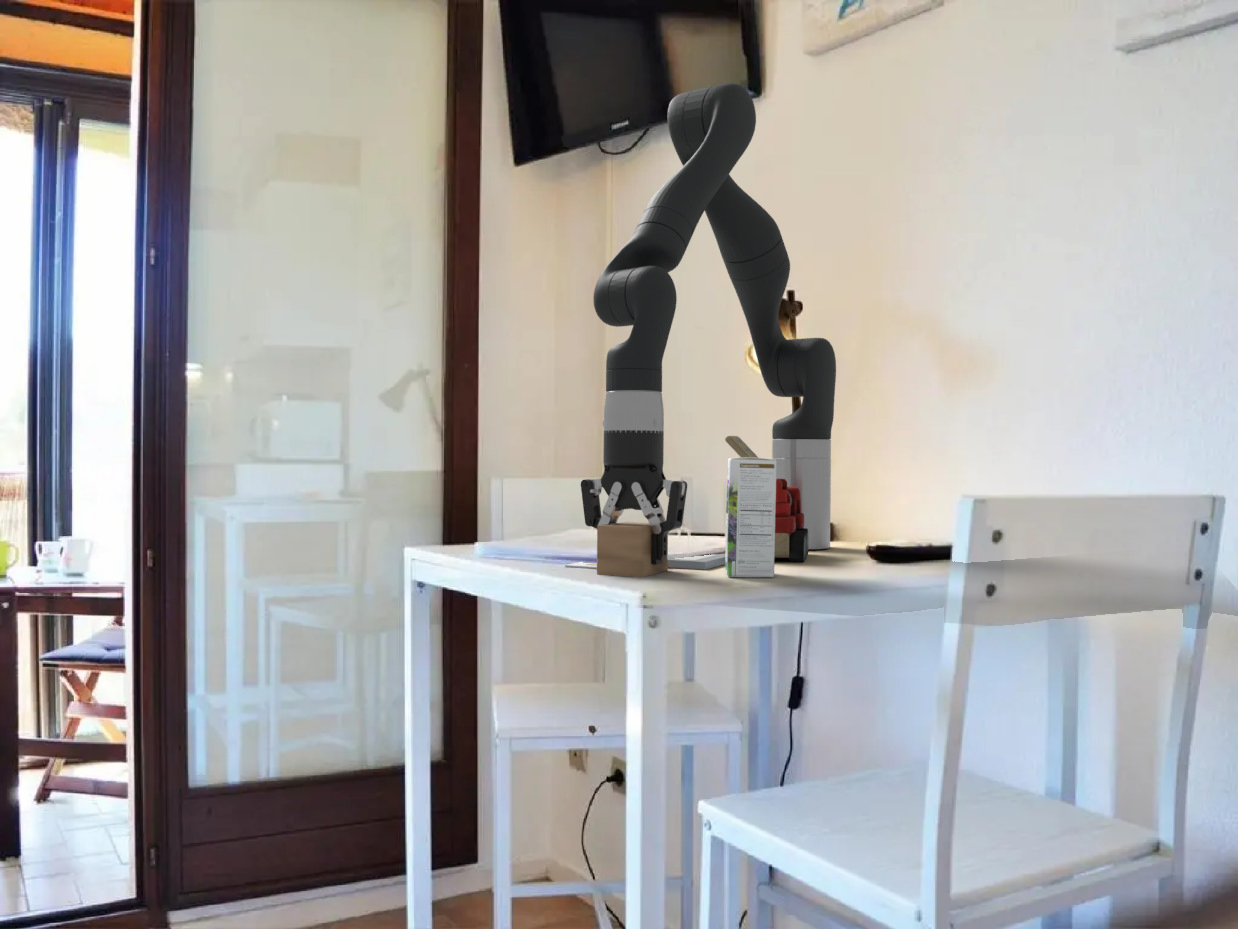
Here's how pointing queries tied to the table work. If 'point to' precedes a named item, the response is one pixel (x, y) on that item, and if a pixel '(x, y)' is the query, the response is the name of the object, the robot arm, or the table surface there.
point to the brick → (626, 550)
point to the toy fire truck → (782, 513)
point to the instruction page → (582, 565)
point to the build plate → (697, 562)
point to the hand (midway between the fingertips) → (632, 562)
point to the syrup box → (750, 517)
